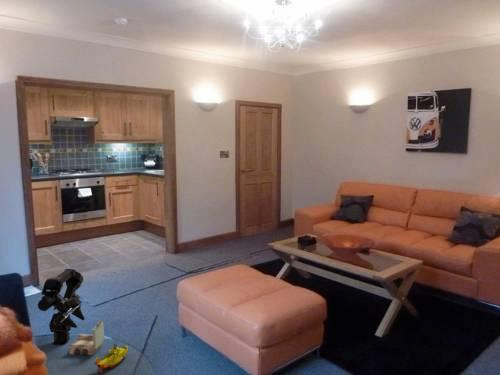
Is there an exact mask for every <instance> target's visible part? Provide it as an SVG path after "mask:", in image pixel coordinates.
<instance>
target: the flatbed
mask: <svg viewBox="0 0 500 375" xmlns="http://www.w3.org/2000/svg"><path fill="white" fill-rule="evenodd" d="M77 336H78V338H77V339H76V341H74V343H69V344H68V346H69V348H68V349H69V354H70V355H75V356H79V355H83V356H87V355H88V356H94V355H95V354H96V352H97V351H98V350H99V349H100V347H101V346H102V345H103V343H102V342H103V341H102V342H101V344H100V345H99V346H98V347H97V348H96V349H94V346H93V334H80V333H79V334H78V335H77Z"/></svg>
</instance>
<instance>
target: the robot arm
mask: <svg viewBox="0 0 500 375" xmlns="http://www.w3.org/2000/svg"><path fill="white" fill-rule="evenodd" d="M83 282H84V276H83V275H82V273H81V272H79V271H77V270H76V269H74V268H65V269H64V270H63V271H62V272H61V273H59V274H58V275H57V276H54V277H50V278H47V279H46V280H45V282H44V284H43V287H42V291H41V295H42V297H41V299H40V300H38V302H37V308H38V310H40V311H41V312H45V311H48V310H49V309H51V308H52V307H53V311H57V312H56V313H53V314H52V317H51V319H50V321H49V325H48V327H49V330H50V333H53V342H52V345H60V346H63V345H66V344H67V343H68V342H69V341H70V340H71V337H70V331H71V329H72V328H74V329H77V328H78V325H77V324H76V323H75V321H73V320H72V319H71V315H72V316H75V317H76V318H78V319H79V320H80V321H84V320H85V316H84V314H83V312H82V308H81V307H82V302H83V301H81V299H80V297H81V296H80V295H79V294H78V293H76V291H77V290H78V289H79V288H80V287H81V285H82V284H83ZM64 284H65V286H66V289H65V292H64V296H62V295H61V294H60V293H61V292H62V288H63V287H64ZM69 313H70V314H69Z"/></svg>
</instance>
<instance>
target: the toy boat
mask: <svg viewBox="0 0 500 375" xmlns="http://www.w3.org/2000/svg"><path fill="white" fill-rule="evenodd" d="M117 345H118V344H116V343H114V344H113V345H112V347H111V349H109V350H108V352H107V353H106V354H105V355H104V356H103V357H102V358H101V359H100V358H99V357H96V358H95V360H94V365H97V366H96V367H97V369H96V370H97V373H100V374H101V373H102V372H103V369H107V368H113V367H115V366H117V365H118V364H119V363H121V361H122V360H123V359H124V358H125V357H126V355H127V354H128V350H129V346H128V345H124V346H121V347H118V346H117Z"/></svg>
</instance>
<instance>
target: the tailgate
mask: <svg viewBox="0 0 500 375" xmlns="http://www.w3.org/2000/svg"><path fill="white" fill-rule="evenodd" d="M92 335H93V346H94V349H96V348H97V347H98V346H99V345H100V344H101V342H103V341H105V328H104V319H103V318H100V320H99V321H98V322H97V323H96V325H95V326H94V327H93V328H92Z"/></svg>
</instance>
